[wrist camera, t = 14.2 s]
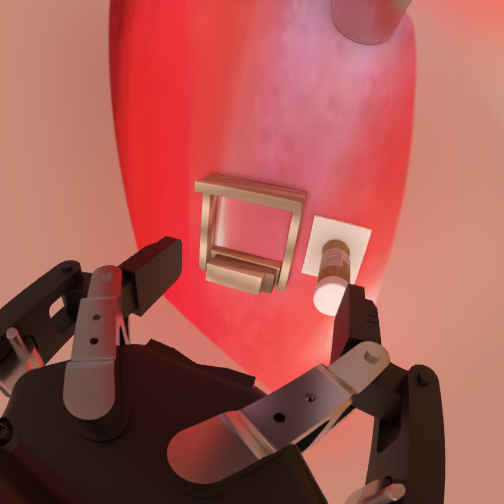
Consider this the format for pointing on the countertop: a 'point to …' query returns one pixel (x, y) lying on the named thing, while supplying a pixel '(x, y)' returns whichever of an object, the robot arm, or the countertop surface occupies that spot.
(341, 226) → the cream mat
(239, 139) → the countertop surface
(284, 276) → the frame
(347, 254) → the sprinkles bottle
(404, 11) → the robot arm
